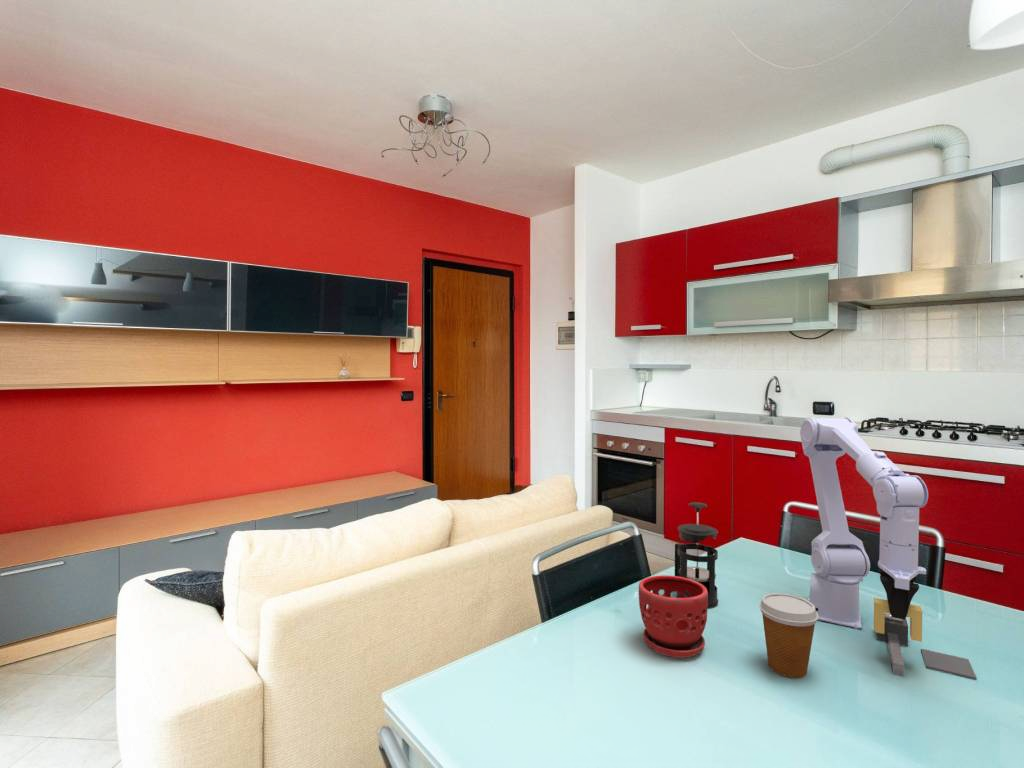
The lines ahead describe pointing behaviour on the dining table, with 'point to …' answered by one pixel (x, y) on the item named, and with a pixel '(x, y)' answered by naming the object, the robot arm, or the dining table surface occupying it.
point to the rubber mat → (948, 664)
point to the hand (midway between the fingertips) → (897, 614)
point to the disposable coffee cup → (788, 632)
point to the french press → (701, 575)
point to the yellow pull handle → (913, 613)
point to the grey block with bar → (895, 641)
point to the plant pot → (673, 615)
